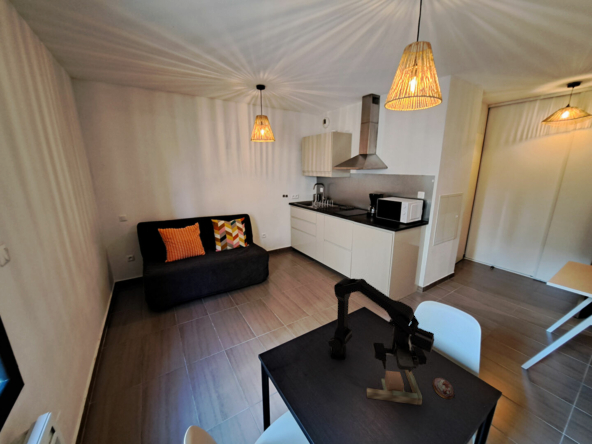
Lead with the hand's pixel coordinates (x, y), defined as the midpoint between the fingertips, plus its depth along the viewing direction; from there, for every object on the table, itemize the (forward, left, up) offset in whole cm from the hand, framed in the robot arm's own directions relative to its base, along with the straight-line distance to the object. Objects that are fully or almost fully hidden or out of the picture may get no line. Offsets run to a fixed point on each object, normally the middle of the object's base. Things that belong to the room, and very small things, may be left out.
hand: (396, 369), depth 88 cm
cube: (0, 0, -10) cm, 10 cm away
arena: (-1, +4, -10) cm, 11 cm away
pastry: (+20, +3, -10) cm, 22 cm away
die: (+9, +21, -10) cm, 25 cm away
